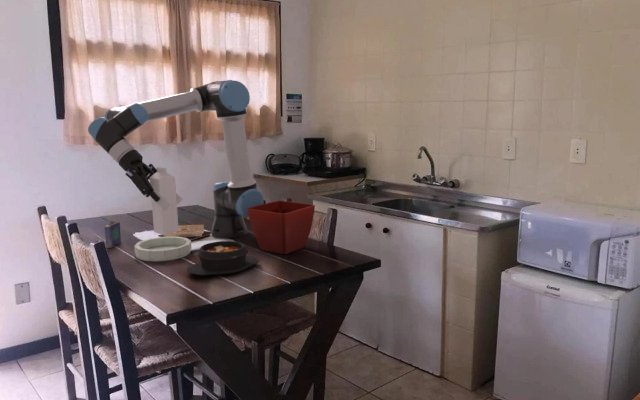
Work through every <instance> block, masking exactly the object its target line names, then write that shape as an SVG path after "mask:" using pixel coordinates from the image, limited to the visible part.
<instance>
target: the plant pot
mask: <svg viewBox="0 0 640 400" xmlns="http://www.w3.org/2000/svg"><path fill="white" fill-rule="evenodd" d="M315 209H316V205H315V204H309V203H304V202H303V203H302V202H295V201H294V202H293V201H288V200H276V201H270V202H266V203H263V204H262V205H258V206H254V207H250V208H247V210H248V215H249V217H248V218H249V219H248V220H249V222H250V225H251V229H252V231H253V235H254V236H255V240H256V242H257V245H258V246H259V249H260V250H261V251H267V252H270V253H274V254H275V253H276V254H281V255H287V254H290V253H292V252H295V251H298V250H301V249H303V248H305V247H306V245H307V242H308V239H309V236H310V233H311V229H312V225H313V220H314V215H315Z"/></svg>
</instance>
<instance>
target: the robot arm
mask: <svg viewBox="0 0 640 400" xmlns="http://www.w3.org/2000/svg"><path fill="white" fill-rule="evenodd" d="M250 97H251V96H250V92H249V90H248V88H247V86H246V85H245V84H243V83H242V82H241V81H238V80H233V79H227V80H220V81H219V80H216V81H212V82H209V83H207V84H203V85H199V86H197V87H192V88H190V90H189V91H186V92H182V93H178V94H173V95H169V96H165V97H159V98H156V99H150V100H146V101H141V102H136V101H135V102H133V103H132V104H128V105H124V106H123V105H122V106H119V107H115V106H114V107H111V108H109V109H108V110H106V112H105V114H104V117H103V116H100V117H98V118H96V119H94V120H93V121H91V122H90V124H89V125H88V129H87V132H88V134H89V135H90V136H91V138H92V139H94V141H95V143H97V144H98V145H99V146H100V147H101V148H102V149H103V150H104V151H105V152H106V153H107V154H108V155H109V156H110V157H111V158H112V160H114V161H115V162H116V163H118V165H119V166H120V167H121V169H122V170H124V171H125V172H126V173H125V176H126V177H128V178H129V179H130V180H131V182H132V183H133V184H134V185H135V187H136V188H137V189H138V191H139V192H140V193H141V194H142V195H143V196H145V197H146V198H149V197H150V198H151V197H152V198H153V199H154V200H155V201H156V202H157V204H158V205H159V206H160V207H161V208H162V209H163V210H165V209H166V208H167V207H168V206H169V205H170V204H169V203H168V202H167V201H166V200H165V199H164V198H163V196H162V195H161V194H160V193H159V192H158V191H157V190H155V191H154V189H153V188H152V186H151V184H150V177H151V176H152V175H154V174H155V173H156V172H157V167H155V166H154V165H153V163H149V165H147V164H146V163H145V162H143V155H142V154H141V153H140V152H139V151H138V150H137V149H135V147H134V146H133V145H132V144H131V143H130V142H129V141H128V140H127V138H126V137H127V136H128V135H130V134H131V133H133V132H135V130H137V129H138V128H140V127H141V126H144V124H146V123H149V122H153V121H156V120H157V121H159V120H161V119H166V118H169V117H174V116H177V115H182V114H186V113H187V114H188V113H190V112H191V113H192V112H194V111H195V112H197V113H201V112H207V111H210V112H211V111H213V112H214V111H215V113H216V118H217V119H218V120H219V121H220V122H221V126H222V133H223V140H224V147H225V152H226V159H227V160H226V161H227V166H228V172H229V179H230V180H229V181H220V182H216V183H214V184H213V191H212V192H213V205H214V209H213V210H214V219H213V223H212V227H211V230H210V231H211V236H212V237H213V238H217V239H235V238H241V237H243V236H246V235H247V234H248V228H247V225H246V223H245V220H244V217H245V218H249V215H248V210H247V208H250V207H254V206H258V205H262V204H264V201H265V199H264V196H263V194H262V192H261V191H260V190H259V189H258V187H257V181H256V180H255V179H254V178H252V170H251V163H250V157H249V149H248V143H247V142H248V141H247V135H246V127H245V121H244V119H245V117H246V116H247V107H248V106H249V104H250V102H251V101H250V100H251V98H250ZM176 200H177V206H178V205H179V203H181V202H182V201H183V197H181V196H180V195H179V194H178V193H177V192H176Z"/></svg>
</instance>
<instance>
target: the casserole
mask: <svg viewBox="0 0 640 400" xmlns="http://www.w3.org/2000/svg"><path fill="white" fill-rule="evenodd" d="M248 252H249V250H248V249H247V247H246V245H245V243H243V242H240V241H234V240H232V241H231V240H220V241H214V242H209V243H205V244H203V245H200V248H199V251H198V253H197V257H198V258H199V262H197V263H194V264H191V265H188V266H187V267H186V271H187V272H188V273H190V274H193V275H195V276H200V277H201V276H202V277H203V276H211V275H212V276H213V275H214V276H215V275H216V276H217V275H218V276H224V275H232V274H235V273H239V272H241V271H245V270H246V269H247V268H249V267H253V266H254V265H255V266H256V265H257V264H258V263H259V262H260V261H259V259H258V258H257V257H254V256H251V255H248Z"/></svg>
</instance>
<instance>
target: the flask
mask: <svg viewBox="0 0 640 400" xmlns="http://www.w3.org/2000/svg"><path fill="white" fill-rule="evenodd" d="M108 221H109V222H108V224H106V225H105V226H104V233H105V247H107V249H111V248H114V247H117V245H120V244H122V240H121V239H122V237H121V223H120V221H117V220H115V221H114V219H108Z"/></svg>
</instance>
